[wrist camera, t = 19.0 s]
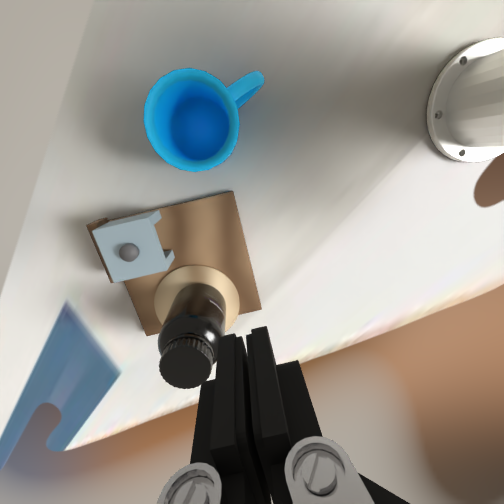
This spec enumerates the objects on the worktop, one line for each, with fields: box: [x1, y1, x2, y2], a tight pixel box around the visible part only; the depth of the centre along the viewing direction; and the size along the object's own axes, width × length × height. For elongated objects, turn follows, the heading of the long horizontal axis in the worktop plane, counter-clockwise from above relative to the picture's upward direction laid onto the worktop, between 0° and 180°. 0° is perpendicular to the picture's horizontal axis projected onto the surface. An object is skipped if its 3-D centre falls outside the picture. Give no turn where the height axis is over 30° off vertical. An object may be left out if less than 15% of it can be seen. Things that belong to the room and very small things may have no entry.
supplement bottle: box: [158, 283, 226, 389], centre depth 32 cm, size 7×7×12 cm
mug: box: [144, 68, 264, 172], centre depth 28 cm, size 12×8×8 cm
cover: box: [92, 210, 175, 283], centre depth 32 cm, size 6×6×5 cm
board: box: [86, 191, 262, 336], centre depth 36 cm, size 16×19×4 cm
